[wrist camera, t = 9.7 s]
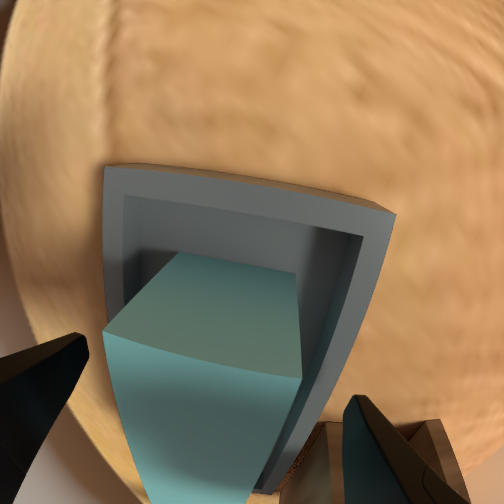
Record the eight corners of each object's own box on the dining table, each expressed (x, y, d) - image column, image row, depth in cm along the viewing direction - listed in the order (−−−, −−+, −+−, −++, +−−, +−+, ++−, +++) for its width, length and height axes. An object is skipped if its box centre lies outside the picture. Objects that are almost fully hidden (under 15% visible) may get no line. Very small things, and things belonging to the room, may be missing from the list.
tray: (274, 469, 15) (271, 494, 13) (150, 442, 16) (140, 465, 14) (373, 201, 9) (396, 214, 7) (137, 162, 10) (104, 166, 8)
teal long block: (244, 456, 14) (231, 527, 9) (177, 441, 14) (153, 508, 9) (295, 273, 10) (302, 378, 5) (179, 251, 10) (102, 330, 5)
